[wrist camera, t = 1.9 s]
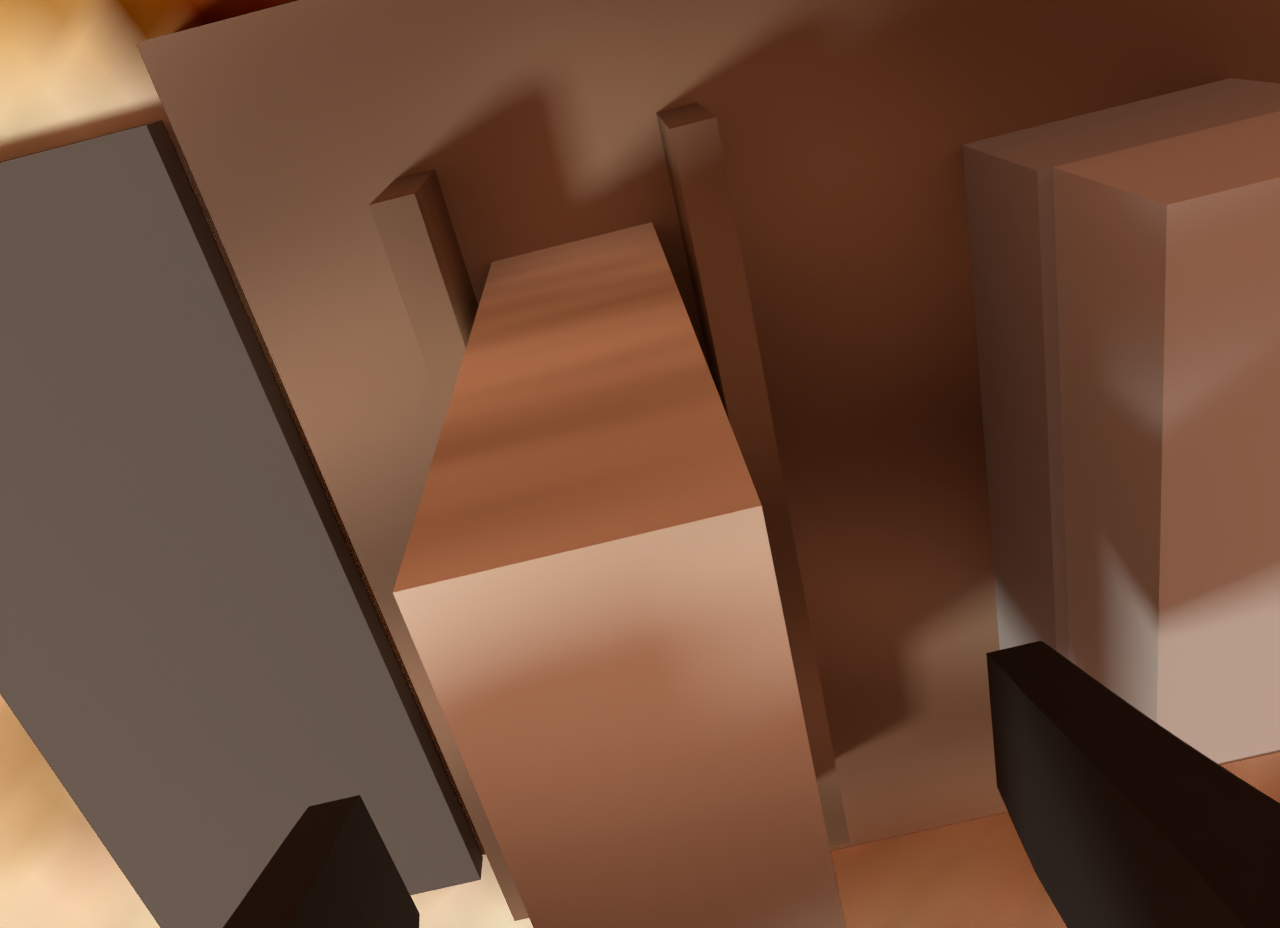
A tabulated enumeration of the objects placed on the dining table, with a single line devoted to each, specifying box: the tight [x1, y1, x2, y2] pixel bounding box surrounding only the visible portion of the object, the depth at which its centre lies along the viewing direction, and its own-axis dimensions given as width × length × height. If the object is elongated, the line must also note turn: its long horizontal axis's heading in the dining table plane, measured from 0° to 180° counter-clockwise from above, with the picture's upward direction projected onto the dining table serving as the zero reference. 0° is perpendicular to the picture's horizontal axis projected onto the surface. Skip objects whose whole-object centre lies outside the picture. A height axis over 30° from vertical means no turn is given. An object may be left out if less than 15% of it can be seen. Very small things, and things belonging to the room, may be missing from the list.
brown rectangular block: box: [393, 222, 846, 928], centre depth 12 cm, size 10×2×9 cm, turn 13°
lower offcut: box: [962, 78, 1280, 660], centre depth 15 cm, size 10×4×2 cm, turn 13°
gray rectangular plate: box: [0, 121, 483, 928], centre depth 17 cm, size 16×7×1 cm, turn 13°
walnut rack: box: [136, 0, 1280, 921], centre depth 16 cm, size 18×18×3 cm
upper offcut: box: [1053, 111, 1280, 764], centre depth 12 cm, size 8×4×2 cm, turn 13°
